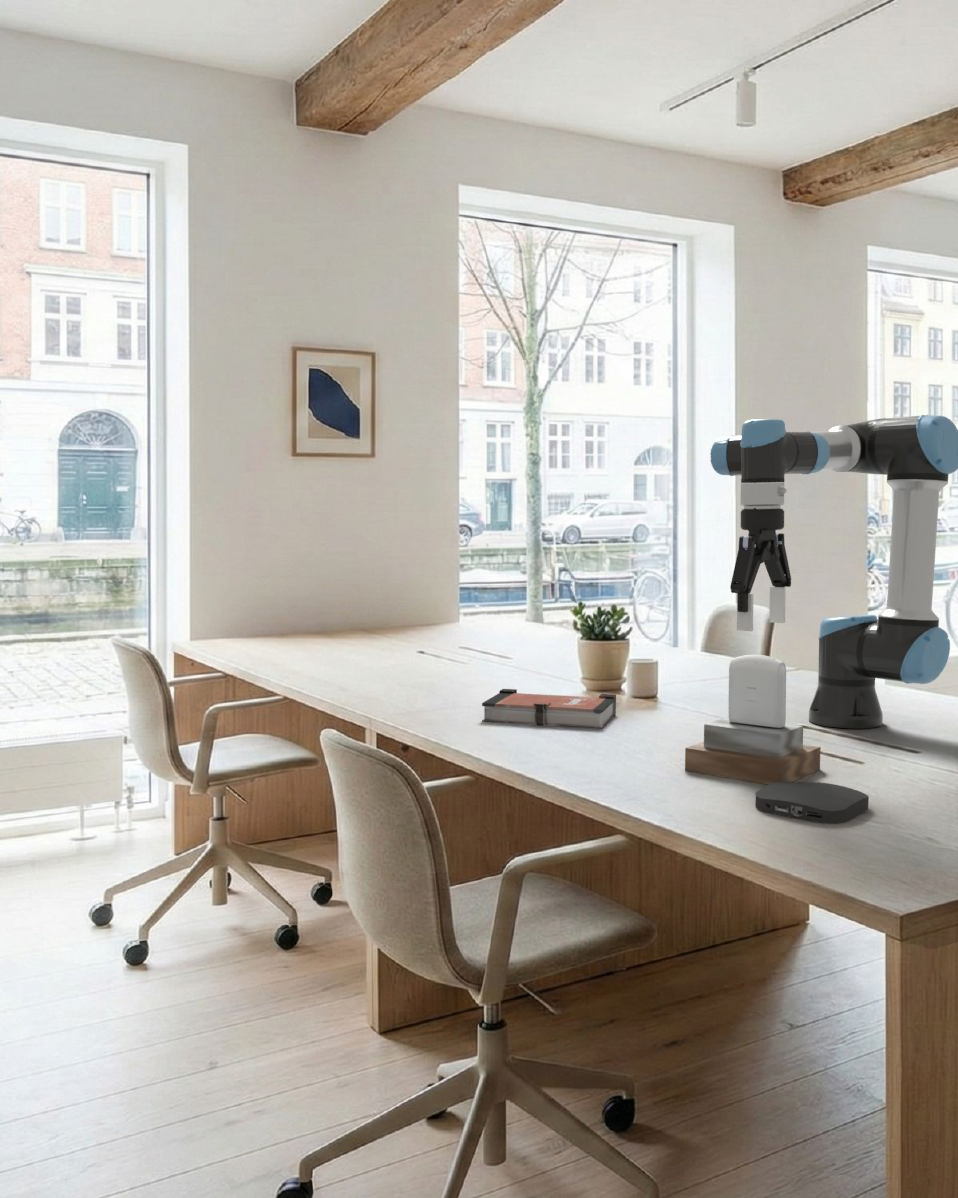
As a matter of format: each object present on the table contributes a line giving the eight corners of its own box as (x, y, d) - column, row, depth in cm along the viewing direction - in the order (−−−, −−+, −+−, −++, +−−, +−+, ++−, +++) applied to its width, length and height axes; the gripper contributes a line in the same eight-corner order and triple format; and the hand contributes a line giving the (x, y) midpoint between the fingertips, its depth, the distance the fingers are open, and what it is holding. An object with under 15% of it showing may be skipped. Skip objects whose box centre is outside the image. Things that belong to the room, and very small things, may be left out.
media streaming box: (876, 808, 172) (877, 789, 172) (838, 829, 161) (838, 809, 161) (788, 792, 182) (788, 774, 182) (746, 811, 171) (746, 791, 170)
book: (481, 724, 239) (481, 701, 239) (503, 710, 256) (503, 688, 255) (601, 731, 232) (601, 708, 231) (615, 716, 248) (616, 694, 248)
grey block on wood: (727, 754, 208) (728, 712, 207) (819, 769, 196) (821, 724, 196) (684, 770, 195) (685, 725, 195) (781, 786, 184) (782, 739, 183)
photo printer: (724, 722, 197) (725, 653, 196) (735, 719, 201) (736, 651, 200) (778, 730, 191) (780, 658, 190) (789, 726, 194) (791, 656, 193)
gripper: (751, 509, 185) (750, 635, 187) (810, 505, 204) (809, 620, 206) (710, 509, 189) (710, 632, 191) (771, 506, 209) (770, 618, 211)
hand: (761, 626), depth 199 cm, fingers open, 13 cm apart
